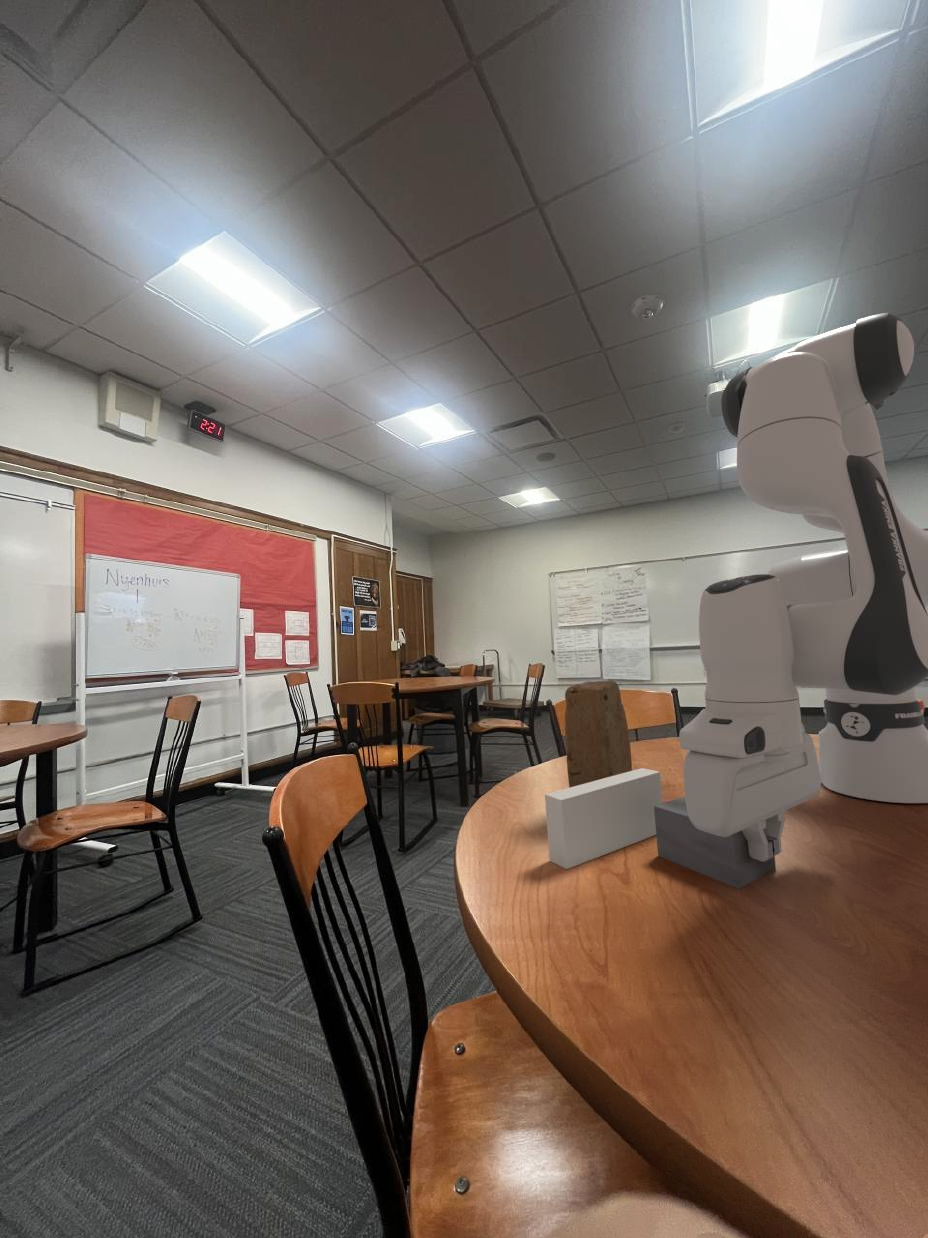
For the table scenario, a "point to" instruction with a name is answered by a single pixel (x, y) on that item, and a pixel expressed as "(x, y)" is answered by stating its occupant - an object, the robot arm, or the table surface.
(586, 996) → the table surface
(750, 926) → the table surface
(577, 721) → the block
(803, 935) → the table surface
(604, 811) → the cream board
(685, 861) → the charcoal block
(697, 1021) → the table surface
